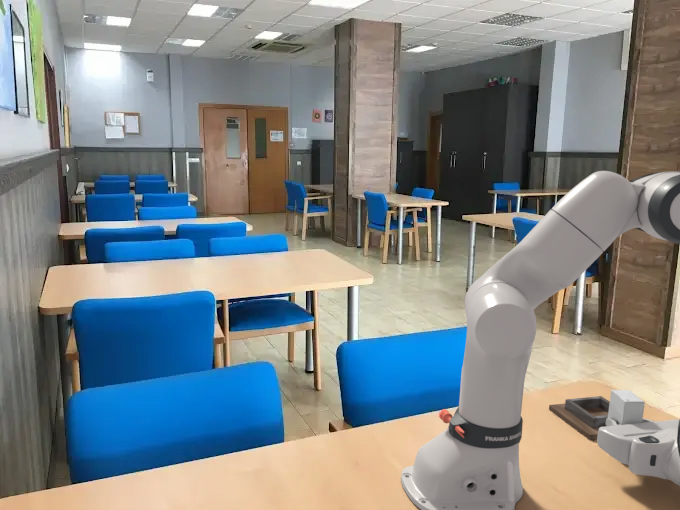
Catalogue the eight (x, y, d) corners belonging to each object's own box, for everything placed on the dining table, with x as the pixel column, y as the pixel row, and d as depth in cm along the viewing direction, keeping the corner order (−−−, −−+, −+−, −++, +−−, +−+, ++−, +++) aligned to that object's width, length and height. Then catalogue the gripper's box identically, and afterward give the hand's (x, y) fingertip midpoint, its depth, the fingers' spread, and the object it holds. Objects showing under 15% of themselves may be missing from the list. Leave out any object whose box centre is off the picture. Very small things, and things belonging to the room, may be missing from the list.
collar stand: (589, 440, 125) (591, 424, 124) (548, 409, 139) (550, 395, 138) (646, 433, 128) (648, 418, 128) (601, 404, 143) (602, 391, 142)
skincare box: (638, 456, 116) (646, 402, 114) (617, 456, 116) (624, 401, 113) (623, 441, 122) (630, 389, 120) (603, 441, 122) (610, 389, 119)
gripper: (722, 433, 107) (664, 401, 120) (631, 443, 102) (581, 409, 115) (716, 463, 108) (660, 429, 122) (626, 475, 103) (577, 438, 116)
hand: (621, 419), depth 118 cm, fingers closed on skincare box, 5 cm apart
